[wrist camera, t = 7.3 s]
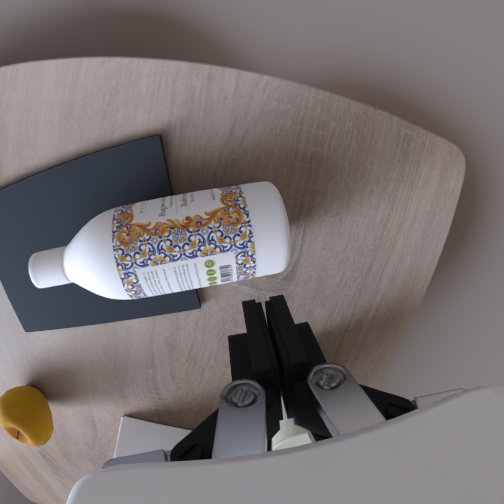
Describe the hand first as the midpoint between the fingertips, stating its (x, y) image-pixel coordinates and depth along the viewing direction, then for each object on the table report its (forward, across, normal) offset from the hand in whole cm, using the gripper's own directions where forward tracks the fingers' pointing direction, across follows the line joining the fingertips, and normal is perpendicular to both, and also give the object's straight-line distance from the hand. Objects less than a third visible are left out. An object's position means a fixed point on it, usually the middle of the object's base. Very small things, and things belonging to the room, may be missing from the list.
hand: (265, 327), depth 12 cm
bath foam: (+12, -3, 0) cm, 12 cm away
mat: (+15, +16, 0) cm, 22 cm away
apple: (+15, +33, +20) cm, 41 cm away
